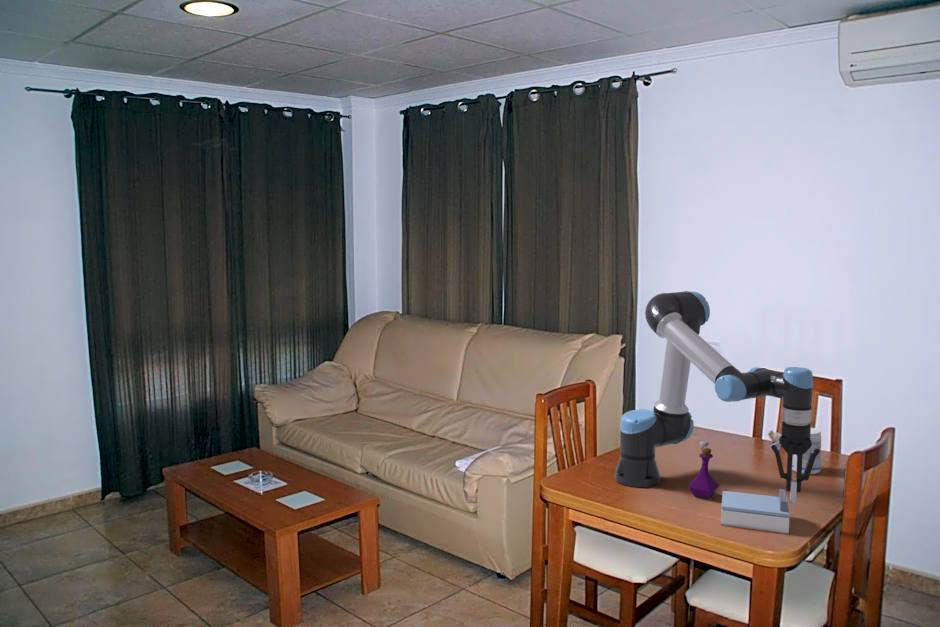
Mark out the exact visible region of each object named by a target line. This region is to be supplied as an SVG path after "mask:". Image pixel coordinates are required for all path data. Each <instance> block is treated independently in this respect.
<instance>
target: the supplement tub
mask: <svg viewBox="0 0 940 627" xmlns="http://www.w3.org/2000/svg"><path fill="white" fill-rule="evenodd" d="M810 440H811V442H812V444H813V445H814V446H816V447H819V449H820V453H819V454H818V455H817V456H816V458H815V461H814V464H813V467H812V470H811V473H810V475H816V474H819V473H820V472H821V465H822V463H821V460H822V459H821V458H822V431H821V430H820V429H819V428H815V427H811V433H810ZM810 449H811V448H809V449H808V450H807V451H806V452H805V453H804V454H803V459H802V475H803V474H804V471H805V468H806V465H807V462H808V459H809V456H810V453H811V452H810ZM796 471H797V455H796V454H794V455H793V458H792V472H795V473H796Z"/></svg>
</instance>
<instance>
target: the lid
mask: <svg viewBox="0 0 940 627" xmlns="http://www.w3.org/2000/svg"><path fill="white" fill-rule="evenodd" d="M721 496H722V497H721V508H720V509H726V510H734V511H742V512H751V513H759V514H768V515H776V516H784V517H789V518H790V508H789V503H788V502H789V501H788V497H787V494H786V489H785V488H784V489H783V488H779V489H778V496H776V495H775V496H773V495H764V494H756V493H747V492H737V491H729V490H722V494H721Z"/></svg>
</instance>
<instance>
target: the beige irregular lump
mask: <svg viewBox="0 0 940 627" xmlns="http://www.w3.org/2000/svg"><path fill="white" fill-rule="evenodd" d="M779 426H780V428H781V429H782V422H780V424H779ZM768 437H769V439H770V440H771V441H772V443H773V442H774V443H776V442H778V441H779V439H780V437H781V433H780V432H774V430H771V431H769V433H768ZM780 447H782V446H781V445H780Z"/></svg>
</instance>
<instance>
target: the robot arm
mask: <svg viewBox="0 0 940 627" xmlns="http://www.w3.org/2000/svg"><path fill="white" fill-rule="evenodd" d="M710 311H711V310H710V305H709V303H708V301H707V299H706V297H705V296H704V295H703V294H702V293H700V292H697V291H690V290H688V291H687V290H685V291H677V292H663V293H659V294H656V295H654V296H653V297H652V298H650V300H649V301H648V302H647V304H646V307H645V311H644V315H645V320H646V323H647V324H648V326H649V328H650V329H651V331H652V332H654V333H655V335H657V336H658V337H659V338H662V339H666V346H665V352H664V362H663V370H662V376H661V384H660V392H659V398H658V400H657V401H655V402H654V404H653V409H652V410H651V409H643V408H640V409H633V410H629V411H627V412H625V413H624V414H623V415H622V416H621V419H620V425H619V430H620V431H619V432H620V434H619V436H620V438H619V439H620V440H619V441H620V443H619V444H620V447H619V449H620V450H619V454H620V455H619V459H618V463H617V465H616V467H615V470H614V471H615V472H614V480H615V481H616V482H617V483H619V484H620V485H623V486H627V487H631V488H633V487H634V488H650V487H655V486H657V485H659V484H660V483H661V473H660V470H659V466H658V464H657V461H656V460H657V459H656V448H660V447H664V446H669V445H677V444H680V443H683V442H685V441H688V439H690V437H691V436H692V435H693V434H692V433H693V432H694V426H695V425H694V424H695V423H694V420H693V418H692V417H693V416H692V414H691V413H690V412H689V407H688V406H687V404H686V399H687V398H686V396H687V389H688V385H689V384H688V382H689V376H690V370H691V364H693V365H694V366H695V367H696V368H697V369H698V370H699V371H700V372H701V373H702V374H704V375H705V376H706V377H707V378H708V379H709V380H710V381H711V382H712V383H713V384H714V391H715V392H714V393H716V395H717V397H718V399H720V400H721V401H723V402H725V403H730V402H733V403H735V402H740V401H744V400H749V399H756V398H761V397H768V396H769V397H774V398H778V399H782V409H781V412H782V413H781V420H782V422H781V423H782V428H781V433H780V434H781V437H780V439H779V441H778V442H776V443H773V442H772V443H771V444H770V448H771V450H772V452H773V453H774V454H775V459H776V464H777V468H778V473H779V477H780V478H781V479H784V480H785V481H786V482H785V483H786V484H785V491H787V492H789V503H790V504H789V505H796V504H797V493H801V491H802V483H803V482H804V481H806V482H807V481H809V479H810V475H811V474H810V473H811V470H812V467H813V464H814V461H815V458H816V456H817V455H818V454H819V453H820V449H819V447H816V446H814V445H813V444H812V442H811V440H810V433H811V428H812V425H811V424H810V423H811V422H812V399H813V389H814V382H813V381H814V378H813V374H814V373H813V372H812V370H811V369H809V368H806V367H800V366H799V367H798V366H789V367H786V368H784V369H783V370H784V371H778V370H774V369H770V368H767V367H758V366H757V367H751V368H750V370H748V371H747V372H741V371H740V370H739V369H737V368H736V367H735V366H734V365H733V364H732V363H731V362H730V361H728V359H726V358H725V357H724V356H723V355H722V354H721V353H720V352H718V351H717V349H715V348H714V347H713V346H712V345H710V344H709V343H708V342H707V341H706V340H705V339H704V338H702V336H700V334H701V333H700V330H701V326H703V325H705V324H706V322H708V321H709V320H710V319H709V318H710V316H711V312H710ZM780 445H781V446H780ZM781 447H782V448H783V450H784V451H785V453H786V454H787V455H786V456H787V457H786V472H785V471H784V466H783V462H782V458H781V457H782V456H781V452H780V450H781ZM809 448H811V449H810V452H811V453H810V456H809V459H808V462H807V465H806V468H805V471H804V474H802V459H803V454H804V453H805V452H806V451H807V450H808V449H809ZM794 454H796V455H797V471H796V472H795V473H796V474H795V476H796V477H795V478H792V476H793V470H792V458H793V455H794Z"/></svg>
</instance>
